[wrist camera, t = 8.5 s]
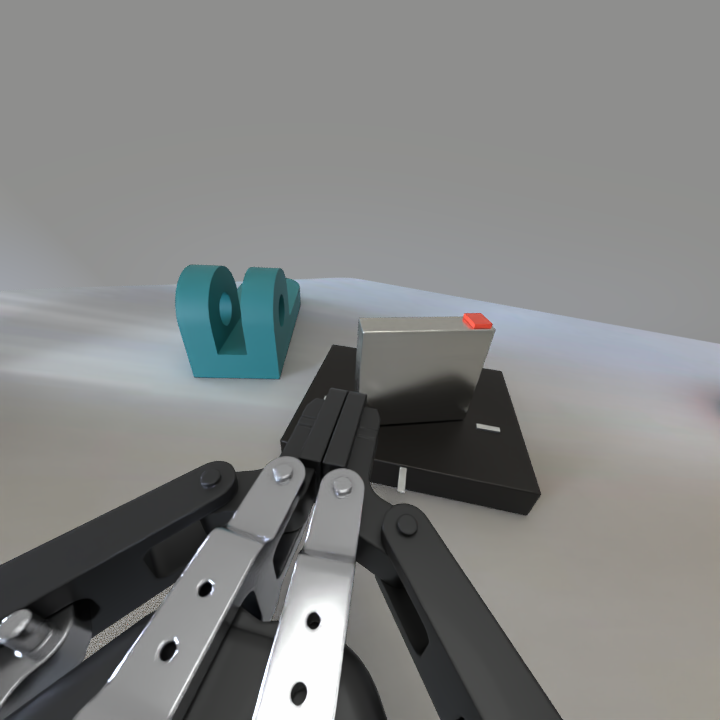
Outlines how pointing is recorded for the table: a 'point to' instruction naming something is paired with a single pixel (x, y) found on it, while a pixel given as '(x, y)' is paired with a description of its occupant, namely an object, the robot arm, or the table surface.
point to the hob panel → (445, 444)
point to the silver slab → (421, 365)
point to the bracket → (236, 320)
